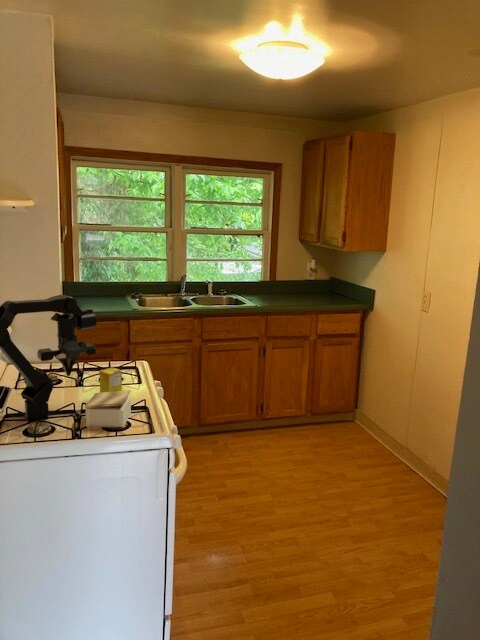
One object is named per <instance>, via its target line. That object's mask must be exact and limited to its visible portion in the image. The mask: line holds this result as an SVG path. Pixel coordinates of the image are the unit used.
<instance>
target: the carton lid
mask: <svg viewBox="0 0 480 640" xmlns="http://www.w3.org/2000/svg"><path fill="white" fill-rule="evenodd" d="M130 393H131V389H127V390H122V391H113V392H102V393H100V392H95V393H94V394H93V396H92V397H91V398H90V399H89V401H88V402H87V403H86V404H85V409H86V408H95V407H106V406H117V405H123V404H124V402H125V400H126V399H127V397H129V395H130Z"/></svg>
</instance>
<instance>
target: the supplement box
mask: <svg viewBox="0 0 480 640" xmlns="http://www.w3.org/2000/svg"><path fill="white" fill-rule="evenodd" d="M98 373H99V393H102V392H113V391H123V382H122V381H123V377H122V375H123V374H122V373H123V372H122V370H121V369H119V368H116V367H113V366H111V367H108V368H105V369H100V370H99V371H98Z"/></svg>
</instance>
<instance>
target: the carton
mask: <svg viewBox="0 0 480 640" xmlns="http://www.w3.org/2000/svg"><path fill="white" fill-rule="evenodd" d="M131 398H132V397H131V396H128V397H127V399H126V400H125V402H124V404H123V405H117V406H106V407H95V408H85V425H86V426H85V427H86V428H87V427H89V428H90V427H91V428H92V427H93V428H118V427H122V429H123V428H125V425H126V424H125V423H127V422H128V420H129V418H130V416H131V414H132V409H131V408H132V400H131ZM113 426H114V427H113Z"/></svg>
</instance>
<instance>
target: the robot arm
mask: <svg viewBox="0 0 480 640" xmlns="http://www.w3.org/2000/svg"><path fill="white" fill-rule="evenodd" d="M42 312H43V313H45V312H54V315H52V316H51V318H50V320H51V321H55V322H56V326H57V334H56V337H57V343H58V344H57V349H56V350H55V349H54V350H52V349H51V348H49V347H47V348H40V349H38V350H37V354H36V355H37V359H39V360H40V361H41V362H48V361H52V360H53V359H54V358H55V359H56V360H57V361H58V362H60V363H61V365H62V367H63V369H64V371H65V375H66V376H67V377H70V376H71V374H72V371H73V367H74V365H75V363H76V361H77V360H79V359H81V355H82V354H81V353H85V354H87V356H91V355H96V354H97V347H96V346H95V345H93V343H91V342H88V343H87V342H86V341H78V337H77V335H76V329H77V330H79V331H81V330H86V329H87V330H88V329H92V328H95V327H96V325H97V321H98V320H97V317H96V314H95V313H94V310H93V309H92V308H85V309H81V308H80V307H79V305H78V302H77V300H76V298H75V297H73V296H68V295H66V294H65V295H64V294H57V295H54V296H50V297H48V298H44V299H27V300H6V301H4V302H3V303H1V305H0V351H1V353H3V354H4V356H5V357H6V358H7V359H8V360H9V362H10V363H11V364H12V365H13V367H15V369H16V370H17V371H18V372H19V373H20V375H21V376H22V377H23V380H24V381H23V383H24V384H25V385H26V386H25V388H23V390H22V391H21V393H20V395H21V398H22V399H23V400H24V413H25V414H24V415H23V416H24V419H25V420H26V421H27V422H28V423H33V422H38V421H44V420H49V418H50V417H49V415H50V413H49V409H50V408H49V403H48V402H49V400H50V396H51V394H52V391H53V389H54V384H53V381H54V380H53V379H51V378H50V377H49V375H48V373H47V372H46V371H43V370H42V369H39V368H34V366H33V365H32V364H31V363H30V361H29V360H28V359H27V358H26V356H25V355H24V354H23V353H22V351H20V349H19V348H18V347H17V345H16V344H15V342H14V341H13V340H12V338H11V334H10V331H9V330H8V329H9V328H10V327H11V325H12V324H13V322H14V320H15V319H16V316H17V315H19V314H32V313H42ZM70 314H71V315H70Z"/></svg>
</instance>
